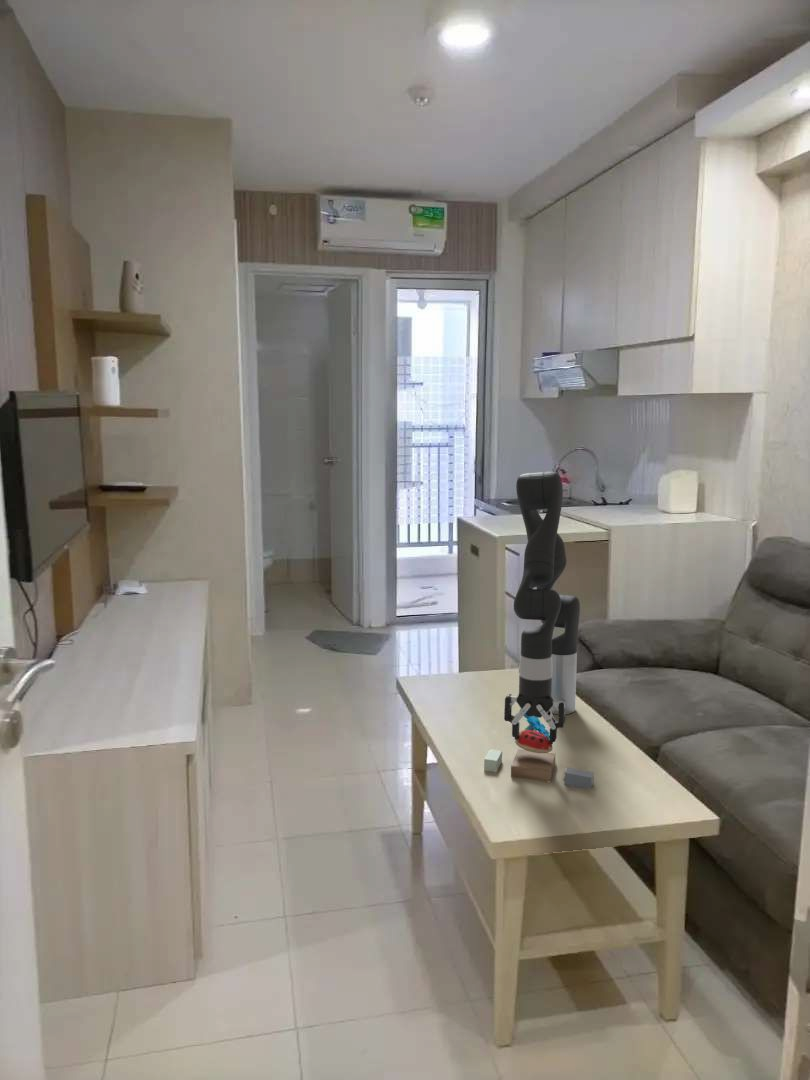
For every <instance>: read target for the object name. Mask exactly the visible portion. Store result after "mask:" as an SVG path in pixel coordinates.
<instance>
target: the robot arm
mask: <svg viewBox="0 0 810 1080" xmlns="http://www.w3.org/2000/svg"><path fill="white" fill-rule="evenodd" d="M515 487H516V497H517V501H518V505H519V509H520V512H521V516H522V519H523V523H524V527H525V532H526V537H527V543H526V546H525V549H524V557H523V559H524V560H523V573H522V579H521V581H520V584H519V586H518V589H517V591H516V594H515V598H514V599H513V600H514V601H513V611H514V613H515V615H516V616H517V618H519V619H520V620H532V621H535V620H536V621H540V622H541V623H542V624H541V625H539V626H535V627H530V628H526V629H524V630H522V632H521V637H520V638H521V639H520V657H519V668H518V675H519V676H518V677H519V680H518V695H517V696H516V695H512V694H511V693H508V694H506V696H505V699H504V712H503V713H504V715H503V716H504V717H503V718H504V719H503V720H504V721H505V722H509V723H510V724H511V726H512V727H511V735H512V737H513V738H514V741H515V740H518V739H519V732H520V725H521V724H520V722H519V721H520V720H522V718H523V717H524V716H523V715H524V714H526V715H527V716H535V717H538V719H539V718H543V720H544V721H545V723H547V724H548V726H549V727H550V728H549V735H550V738H549V744H552V745H553V744H554V743H555V742H556V741H557V737H558V736H557V735H558V734H557V732H558V729H559V728H560V729H561V728H564V726H565V723H566V715H568V714H572V713H574V712H575V711H576V698H577V696H576V695H577V693H576V692H577V691H576V690H577V659H578V641H579V627H580V625H579V623H580V616H581V615H580V614H581V611H580V610H581V604H580V600H579V598H578V597H577V596H575V595H569V594H568V595H567V594H559V593H558V592H557V591H556V590H554V589H552V588H553V586H554V585H555V583H557V582H556V581H558V579H559V578H560V576H561V575H562V574H563V573H564V570H565V569H566V566H567V556H566V550H565V549H566V548H565V543H564V540H563V539H562V537H561V536H560V534H559V533H558V530H559V524H560V519H561V511H562V506H563V500H564V499H563V497H564V496H563V495H564V490H563V489H564V488H563V481H562V478H561V475H560V473H559V472H557V471H539V472H526V473H522V474H520V475H519V476H517V479H516V486H515ZM538 510H546V514H545V516H544V518H542V517H541V515H540V513H539V512H538ZM555 628H560V629H561V628H562V629H564V632H563V633H561V634H559V635H555V636H554V635H553V634H554V630H555ZM515 703H517V705H518V706H519V707H520V709H519V710H518V711H517V713H516V714H515V715H513V714H512V712H513V711H512V706H514V705H515ZM554 714H555V715H558V720H556V719H555V717H554Z"/></svg>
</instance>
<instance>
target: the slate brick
mask: <svg viewBox="0 0 810 1080" xmlns="http://www.w3.org/2000/svg"><path fill="white" fill-rule="evenodd" d="M594 774H595V772H594V771H589V770H583V769H578V768H574V767H573V768H572V767H567V768H566V769H565V771H564V775H563V777H564V780H563V781H564V782H563V785H565V784H566V786H570V785H571V786H570V787H575V786H576V787H575V788H581V789H586V788H587V789H588V790H592V787H593V786H594V777H595V775H594ZM592 785H593V786H592Z"/></svg>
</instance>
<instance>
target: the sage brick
mask: <svg viewBox="0 0 810 1080" xmlns="http://www.w3.org/2000/svg"><path fill="white" fill-rule="evenodd" d="M502 762H503V750H499V749H491V748H490V749H489V750H488V752H487V753H486V755H485V757H484V759H483V770H484V771H487V772H492V773H494V772H495V773H497V772H498V770H499V768H500V766H501V765H502Z"/></svg>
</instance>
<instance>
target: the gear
mask: <svg viewBox="0 0 810 1080" xmlns="http://www.w3.org/2000/svg"><path fill="white" fill-rule="evenodd" d="M523 717H524V718H526V722H527V723H528V726H526V727H525V728H524V730H533V731H537V732H540V733H542V734H544V735H545V736H547V737H548V738H549V739H550V731H548V730H547V729H546V726H545V724H543V723H541V720H540V719H539V717H535V716H527V715H526V714H524V715H523Z"/></svg>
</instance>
